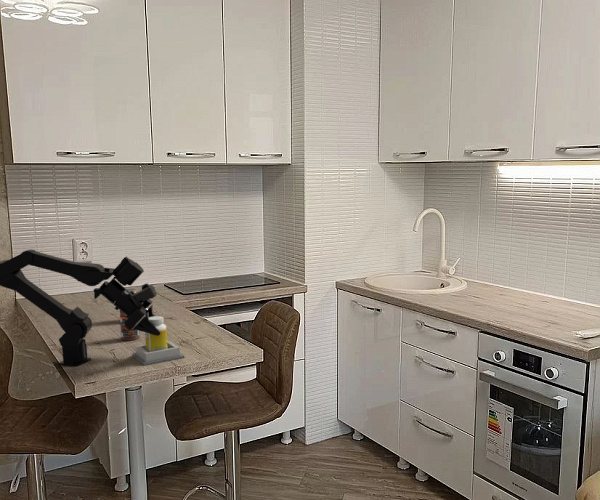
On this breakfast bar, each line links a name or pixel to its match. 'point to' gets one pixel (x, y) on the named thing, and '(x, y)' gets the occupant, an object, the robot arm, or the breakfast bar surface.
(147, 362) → the socket block
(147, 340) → the pill bottle
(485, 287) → the breakfast bar surface
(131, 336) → the supplement bottle
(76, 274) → the robot arm
